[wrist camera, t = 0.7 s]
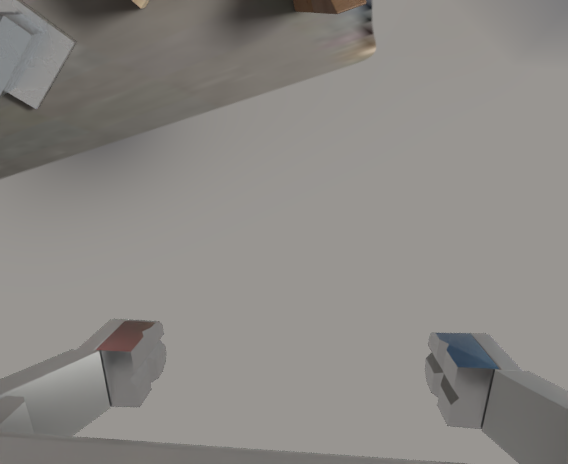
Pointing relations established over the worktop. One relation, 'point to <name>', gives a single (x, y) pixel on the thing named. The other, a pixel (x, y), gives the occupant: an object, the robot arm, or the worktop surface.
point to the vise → (30, 52)
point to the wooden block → (326, 5)
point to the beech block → (141, 3)
